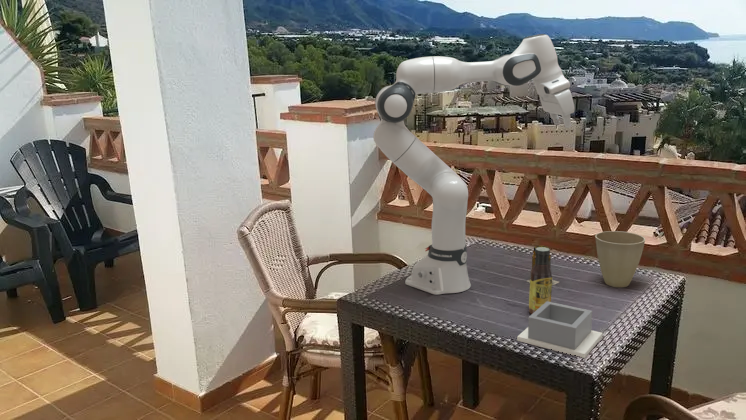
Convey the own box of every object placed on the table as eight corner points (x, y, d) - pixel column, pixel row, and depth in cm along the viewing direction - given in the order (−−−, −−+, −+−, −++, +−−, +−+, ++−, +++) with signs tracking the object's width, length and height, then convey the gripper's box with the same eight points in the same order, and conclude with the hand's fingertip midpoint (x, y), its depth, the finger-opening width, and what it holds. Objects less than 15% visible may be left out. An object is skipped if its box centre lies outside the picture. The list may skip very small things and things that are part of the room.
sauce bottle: (535, 318, 170) (537, 253, 165) (524, 310, 176) (525, 247, 171) (555, 315, 171) (557, 250, 167) (543, 307, 177) (545, 244, 172)
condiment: (538, 276, 203) (539, 243, 200) (560, 282, 196) (561, 248, 193) (525, 281, 198) (526, 248, 195) (547, 288, 192) (548, 253, 189)
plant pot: (635, 295, 182) (638, 246, 179) (587, 286, 191) (589, 239, 188) (647, 280, 194) (650, 234, 190) (601, 272, 203) (603, 228, 199)
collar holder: (517, 340, 157) (517, 315, 155) (538, 321, 168) (538, 298, 166) (584, 358, 146) (585, 331, 144) (602, 336, 157) (603, 312, 155)
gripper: (530, 87, 193) (543, 126, 197) (551, 89, 173) (564, 132, 177) (548, 79, 193) (561, 119, 196) (571, 81, 173) (584, 125, 176)
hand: (563, 125), depth 186 cm, fingers open, 8 cm apart
